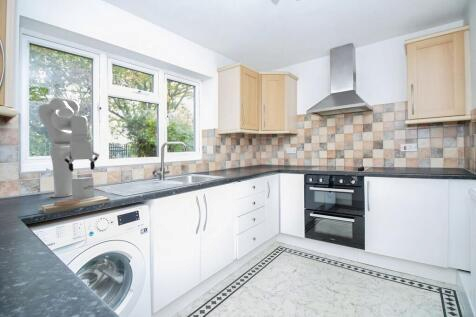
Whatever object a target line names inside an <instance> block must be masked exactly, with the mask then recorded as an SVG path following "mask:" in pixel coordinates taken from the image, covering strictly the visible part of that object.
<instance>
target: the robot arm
mask: <svg viewBox="0 0 476 317" xmlns="http://www.w3.org/2000/svg"><path fill="white" fill-rule="evenodd" d="M79 111H80V105H79V103H78V102H77V101H76V100H74V99H70V98H69V99H68V98H67V99H66V98H61V97H57V98H53V99H51V100H50V102H49V103H46V104H45V103H44V104H41V105H39V107H38V115H39V119H40V120H41V122H42V124H43V125H44V127H45V129H46V133H47V135H48V136H47V137H48V140H49V142H50V144H51V145H52V146H51V147H50V149H49V155H50V158H51V163H52V175H53V186H54V187H53V189H54V193H53V194H51V197H52V198H63V197H72V182H71V179H74V178H73V177H74V176H73V172H74V163H73V162H74V161H77V160H80V161H81V160H89V161H90V163H89V164H90V170H95V168H96V167H95V166H96V165H95V163H96V162H97V160H98V159H99V157H100V154H99V153H97V152H95V151H93V148H92V144H91V142H90V140H92V137H91V136H89V132H88V131H89V129H88V118H87V117H86V116H85V115H77V114H78V113H79ZM93 157H94V158H93Z"/></svg>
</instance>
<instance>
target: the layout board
mask: <svg viewBox="0 0 476 317" xmlns="http://www.w3.org/2000/svg"><path fill="white" fill-rule="evenodd" d="M110 201H111V200H110V198H109V197H106V196H104V195H100V196H94V197H93V198H86V199H80V200H79V199H72V198H71V199H63V200H59V201H56V202H54V203H50V204H43V205H41V206H40V208H41V211H42V212H43V213H45V214H46V215H48V214H51V213H52V214H53V213H58V212H63V211H68V210H75V209H80V208H85V207H90V206H97V205H101V204H102V205H103V204H107V203H110Z"/></svg>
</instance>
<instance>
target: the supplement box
mask: <svg viewBox="0 0 476 317" xmlns="http://www.w3.org/2000/svg"><path fill="white" fill-rule="evenodd" d="M71 182H72V195H71V199H79V200H80V199H86V198H93V197H95V186H94V184H95V183H94V177H93V176H88V177H87V176H86V177H85V176H84V177H77V178H75V177H74V178H73V179H71Z"/></svg>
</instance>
